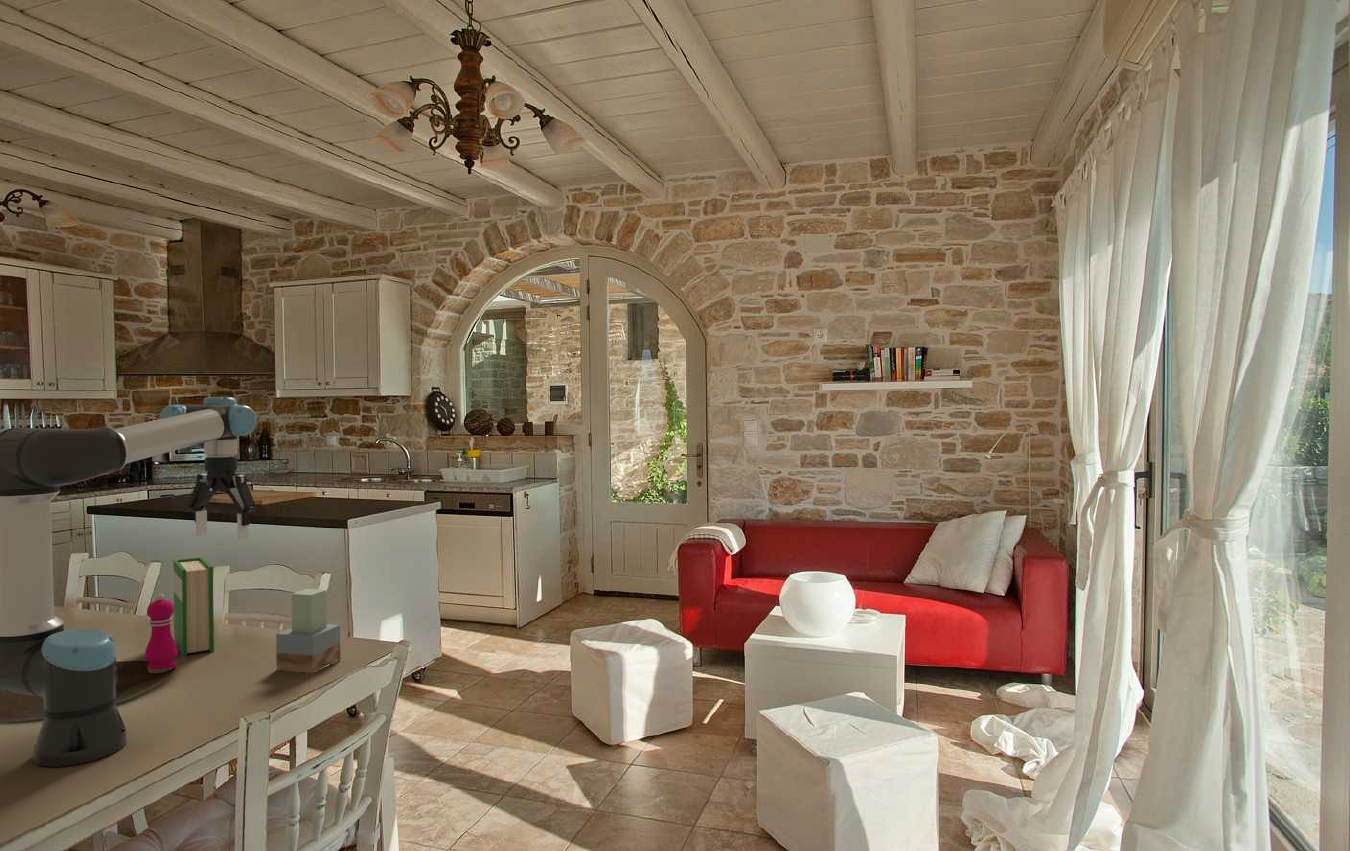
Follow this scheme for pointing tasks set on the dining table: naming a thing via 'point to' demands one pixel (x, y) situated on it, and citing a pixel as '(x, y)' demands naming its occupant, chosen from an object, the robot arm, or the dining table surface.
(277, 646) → the tower top block
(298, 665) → the tower bottom block
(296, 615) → the sage block
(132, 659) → the dining table surface
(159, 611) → the pepper mill
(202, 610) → the hardback book
